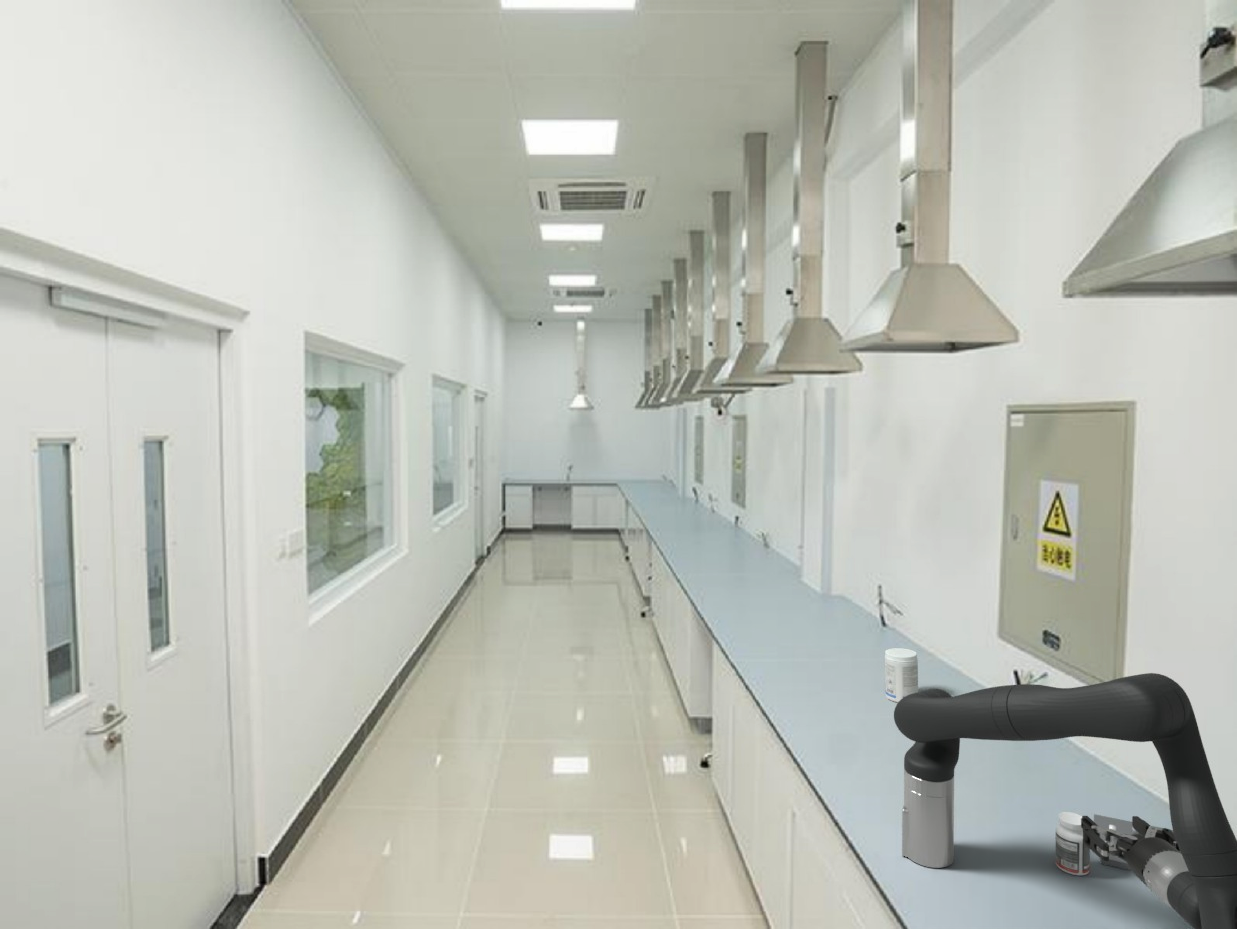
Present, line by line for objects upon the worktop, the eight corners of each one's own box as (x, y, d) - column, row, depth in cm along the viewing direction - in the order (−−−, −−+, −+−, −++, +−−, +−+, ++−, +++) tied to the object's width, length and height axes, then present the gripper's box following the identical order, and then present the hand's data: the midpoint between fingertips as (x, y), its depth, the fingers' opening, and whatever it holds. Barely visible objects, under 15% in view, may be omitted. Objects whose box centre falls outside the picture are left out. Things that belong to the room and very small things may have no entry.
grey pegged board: (1101, 863, 145) (1101, 845, 145) (1093, 819, 161) (1094, 802, 160) (1190, 883, 138) (1191, 864, 138) (1173, 835, 154) (1174, 818, 154)
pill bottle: (1077, 858, 147) (1078, 809, 146) (1096, 876, 141) (1097, 825, 140) (1048, 859, 147) (1049, 810, 146) (1067, 877, 141) (1067, 826, 140)
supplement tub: (918, 695, 234) (918, 649, 233) (917, 706, 225) (917, 658, 224) (885, 691, 238) (885, 646, 237) (883, 701, 229) (883, 655, 228)
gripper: (1219, 852, 115) (1150, 800, 131) (1123, 851, 116) (1067, 799, 132) (1218, 899, 115) (1150, 841, 131) (1122, 898, 116) (1067, 840, 132)
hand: (1108, 820), depth 132 cm, fingers open, 8 cm apart
